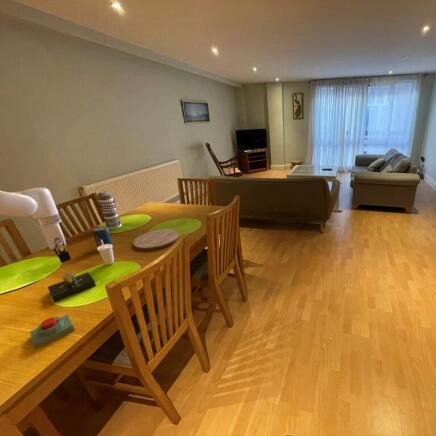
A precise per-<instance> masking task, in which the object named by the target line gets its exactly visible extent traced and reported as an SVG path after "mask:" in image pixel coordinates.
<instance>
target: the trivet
mask: <svg viewBox="0 0 436 436" xmlns="http://www.w3.org/2000/svg"><path fill="white" fill-rule="evenodd" d="M178 238H179V239H180V232H179V231H178V230H175V229H171V228H169V229H167V228H164V229H163V228H162V229H157V230H151V231H148V232H145V233H142V234H141V235H139V236H137V237H136V238H134V240H133V243H132V244H133V247H134V249H136V250H138V251H145V252H146V251H147V252H149V251H157V250H161V249H165V248H168V247H170V246H173V245H174V244H175V243H177V242H178V241H177V239H178ZM176 241H177V242H176Z"/></svg>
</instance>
